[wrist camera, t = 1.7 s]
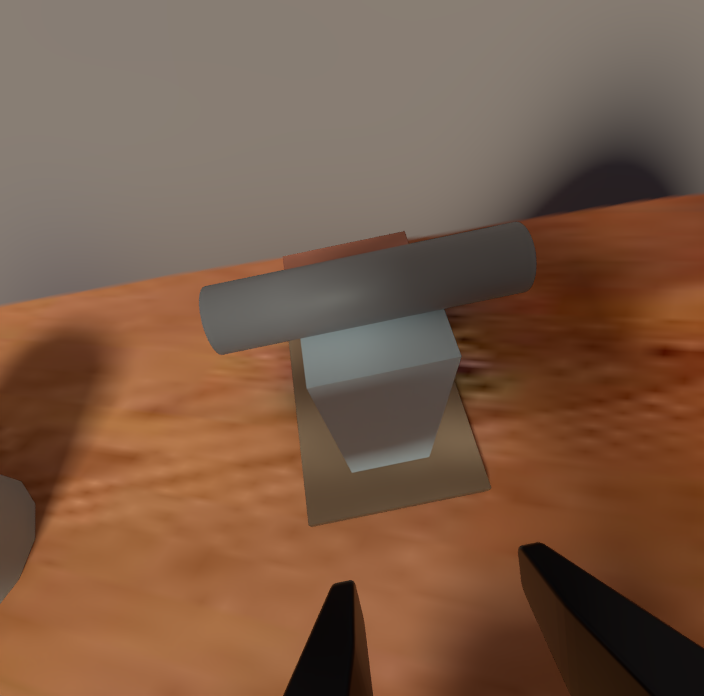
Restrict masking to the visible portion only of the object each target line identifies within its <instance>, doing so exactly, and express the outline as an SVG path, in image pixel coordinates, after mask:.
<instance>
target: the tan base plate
mask: <svg viewBox="0 0 704 696" xmlns="http://www.w3.org/2000/svg"><path fill="white" fill-rule="evenodd" d="M406 244H409V242H408V240H407V237H406V234H405V232H404V231H403V232H398V233H394V234H389V235H384V236H379V237H375V238H370V239H365V240H360V241H355V242H350V243H346V244H341V245H336V246H331V247H326V248H322V249H317V250H312V251H307V252H302V253H298V254H293V255H288V256H283V263H284V270H286V269H291V268H296V267H301V266H305V265H310V264H315V263H320V262H325V261H329V260H334V259H339V258H344V257H349V256H353V255H358V254H363V253H368V252H373V251H377V250H382V249H387V248H392V247H397V246H401V245H406ZM289 348H290V357H291V366H292V376H293V385H294V394H295V403H296V413H297V422H298V431H299V440H300V450H301V459H302V468H303V477H304V487H305V496H306V505H307V514H308V523H309V526H311V527H313V526H318V525H323V524H328V523H333V522H338V521H343V520H347V519H352V518H357V517H362V516H367V515H372V514H377V513H382V512H387V511H391V510H396V509H401V508H406V507H411V506H416V505H421V504H426V503H431V502H435V501H440V500H445V499H450V498H455V497H460V496H465V495H470V494H474V493H479V492H484V491H488V490H490V489H491V486H490V483H489V480H488V477H487V474H486V471H485V468H484V465H483V463H482V460H481V457H480V454H479V451H478V448H477V445H476V442H475V439H474V436H473V433H472V431H471V428H470V425H469V422H468V419H467V416H466V413H465V410H464V407H463V404H462V401H461V399H460V396H459V393H458V390H457V387H456V384H455V381H453V385H452V388H451V391H450V394H449V397H448V400H447V403H446V406H445V410H444V413H443V416H442V419H441V422H440V425H439V428H438V431H437V434H436V438H435V441H434V444H433V447H432V450H431V453H430V456H429V457H427V458H422V459H417V460H412V461H407V462H402V463H397V464H392V465H388V466H383V467H378V468H373V469H368V470H363V471H358V472H353V473H352V472H351V470H350V468H349V466H348V465H347V463H346V461H345V459H344V457H343V455H342V453H341V452H340V450H339V448H338V446H337V444H336V442H335V440H334V438H333V437H332V435H331V433H330V431H329V429H328V427H327V425H326V424H325V422H324V420H323V418H322V416H321V414H320V412H319V411H318V409H317V407H316V405H315V403H314V401H313V399H312V398H311V396H310V394H309V392H308V390H307V387H306V379H305V371H304V363H303V356H302V348H301V340H300V339H296V340H291V341H289Z"/></svg>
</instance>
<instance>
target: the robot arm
mask: <svg viewBox="0 0 704 696" xmlns="http://www.w3.org/2000/svg"><path fill="white" fill-rule="evenodd" d="M518 557H519V566H520V575H521V583H522V587H523V590H524V593H525V595H526V598H527V600H528V602H529V604H530V607H531V609H532V611H533V613H534V615H535V618H536V620H537V622H538V624H539V626H540V629H541V631H542V633H543V635H544V638H545V640H546V642H547V644H548V646H549V649H550V651H551V653H552V655H553V658H554V660H555V662H556V664H557V666H558V669H559V671H560V673H561V675H562V677H563V680H564V682H565V684H566V686H567V688H568V690H569V692H570V695H571V696H704V648H702V647H701V646H699V645H698V644H696V643H695V642H693V641H692V640H690V639H689V638H687V637H686V636H684V635H682V634H681V633H679V632H678V631H676V630H675V629H673V628H672V627H670V626H669V625H667V624H666V623H664V622H663V621H661V620H660V619H658V618H656V617H655V616H653V615H652V614H650V613H649V612H647V611H646V610H644V609H643V608H641V607H640V606H638V605H637V604H635V603H633V602H632V601H630V600H629V599H627V598H626V597H624V596H623V595H621V594H620V593H618V592H617V591H615V590H614V589H612V588H611V587H609V586H607V585H606V584H604V583H603V582H601V581H600V580H598V579H597V578H595V577H594V576H592V575H591V574H589V573H588V572H586V571H585V570H583V569H581V568H580V567H578V566H577V565H575V564H574V563H572V562H571V561H569V560H568V559H566V558H565V557H563V556H562V555H560V554H558V553H557V552H555V551H554V550H552V549H551V548H549V547H548V546H546V545H545V544H543V543H540V542H536V543H531V544H526V545H522V546H520V547H519V549H518ZM283 696H373V691H372V682H371V674H370V666H369V657H368V649H367V640H366V632H365V624H364V618H363V613H362V609H361V605H360V601H359V597H358V593H357V589H356V585H355V583H354V581H352V580H349V581H344V582H339V583H335V584H333V585H332V586H331V588H330V590H329V593H328V595H327V597H326V599H325V602H324V604H323V606H322V609H321V611H320V613H319V615H318V618H317V620H316V622H315V624H314V627H313V629H312V631H311V634H310V636H309V638H308V640H307V643H306V645H305V647H304V649H303V652H302V654H301V656H300V658H299V661H298V663H297V665H296V668H295V670H294V672H293V674H292V677H291V679H290V681H289V683H288V686H287V688H286V690H285V693H284V695H283Z"/></svg>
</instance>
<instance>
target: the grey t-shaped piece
mask: <svg viewBox="0 0 704 696" xmlns="http://www.w3.org/2000/svg"><path fill="white" fill-rule="evenodd" d="M535 275H536V252H535V247H534V243H533V240H532V238H531V235H530V233H529V231H528V230H527V228H526V227H525V226H524V225H523V224H522V223H520V222H512V223H507V224H502V225H497V226H493V227H488V228H483V229H478V230H473V231H469V232H464V233H459V234H454V235H449V236H445V237H440V238H435V239H430V240H425V241H421V242H416V243H411V244H406V245H401V246H397V247H392V248H387V249H382V250H377V251H373V252H368V253H363V254H358V255H353V256H349V257H344V258H339V259H334V260H329V261H325V262H320V263H315V264H310V265H305V266H301V267H296V268H291V269H286V270H281V271H277V272H272V273H267V274H262V275H257V276H253V277H248V278H243V279H238V280H233V281H229V282H224V283H219V284H214V285H209V286H205V287H203V288H202V289H201V292H200V296H199V309H200V316H201V320H202V324H203V328H204V331H205V334H206V336H207V338H208V341H209V342H210V344H211V346H212V347H213V349H214V350H215V351H216V352H217V353H218V354H220V355H224V354H228V353H233V352H238V351H243V350H248V349H253V348H257V347H262V346H267V345H272V344H277V343H282V342H286V341H291V340H296V339H300V340H301V348H302V356H303V363H304V371H305V379H306V387H307V390H308V392H309V394H310V396H311V398H312V399H313V401H314V403H315V405H316V407H317V409H318V411H319V412H320V414H321V416H322V418H323V420H324V422H325V424H326V425H327V427H328V429H329V431H330V433H331V435H332V437H333V438H334V440H335V442H336V444H337V446H338V448H339V450H340V452H341V453H342V455H343V457H344V459H345V461H346V463H347V465H348V466H349V468H350V470H351V472H352V473H353V472H358V471H363V470H368V469H373V468H378V467H383V466H388V465H392V464H397V463H402V462H407V461H412V460H417V459H422V458H427V457H429V456H430V453H431V450H432V447H433V444H434V441H435V438H436V434H437V431H438V428H439V425H440V422H441V419H442V416H443V413H444V410H445V406H446V403H447V400H448V397H449V394H450V391H451V388H452V385H453V381H454V378H455V375H456V372H457V369H458V366H459V363H460V360H461V354H460V351H459V348H458V346H457V343H456V340H455V338H454V335H453V332H452V329H451V327H450V324H449V321H448V318H447V316H446V313H445V310H444V309H446V308H450V307H455V306H460V305H465V304H470V303H474V302H479V301H484V300H489V299H494V298H499V297H503V296H508V295H513V294H518V293H523V292H526V291H528V290H529V289H530V288H531V286H532V284H533V282H534V279H535Z"/></svg>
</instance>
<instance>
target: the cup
mask: <svg viewBox="0 0 704 696" xmlns="http://www.w3.org/2000/svg"><path fill="white" fill-rule="evenodd" d="M34 540H35V503H34V501H33V499H32V498H31V496H30V495H29V493H28V491H27V490H26V488H25V486H24V485H23V483H22V482H21V481H19V480H16V479H13V478H10V477H7V476H3V475H0V603H1V602H2V601H3V599H4V598H5V597H6V596H7V594H8V593H9V592H10V590H11V589H12V588H13V587H14V585H15V584H16V583H17V581H18V580H19V578H20V576H21V573H22V570H23V568H24V565H25V563H26V560H27V558H28V555H29V553H30V550H31V548H32V545H33V543H34Z"/></svg>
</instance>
